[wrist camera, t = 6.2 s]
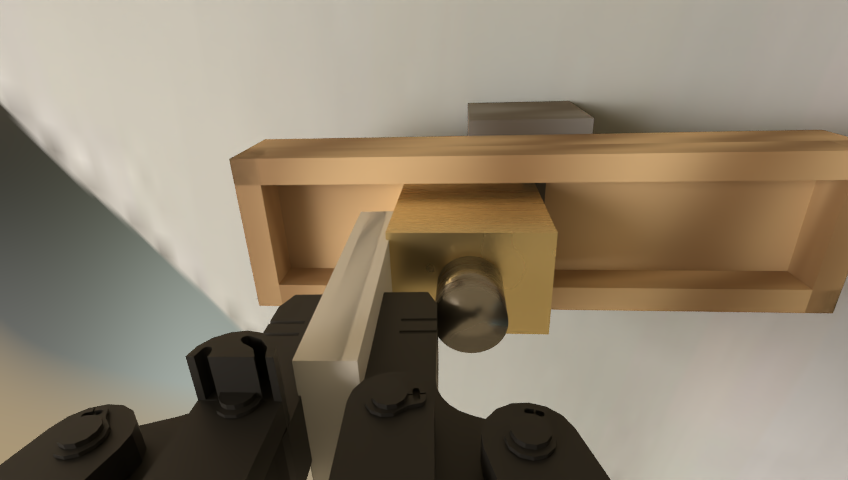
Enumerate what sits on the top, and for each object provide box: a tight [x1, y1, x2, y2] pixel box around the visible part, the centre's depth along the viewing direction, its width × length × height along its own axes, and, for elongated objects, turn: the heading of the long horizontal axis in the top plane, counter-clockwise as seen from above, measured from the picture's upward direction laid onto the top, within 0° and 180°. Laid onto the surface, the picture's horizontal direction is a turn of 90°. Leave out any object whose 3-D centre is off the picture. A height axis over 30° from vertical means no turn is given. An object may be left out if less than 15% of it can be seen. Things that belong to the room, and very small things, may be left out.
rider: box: [385, 183, 558, 353], centre depth 13 cm, size 4×3×6 cm
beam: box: [229, 101, 848, 313], centre depth 17 cm, size 18×6×7 cm, turn 92°
